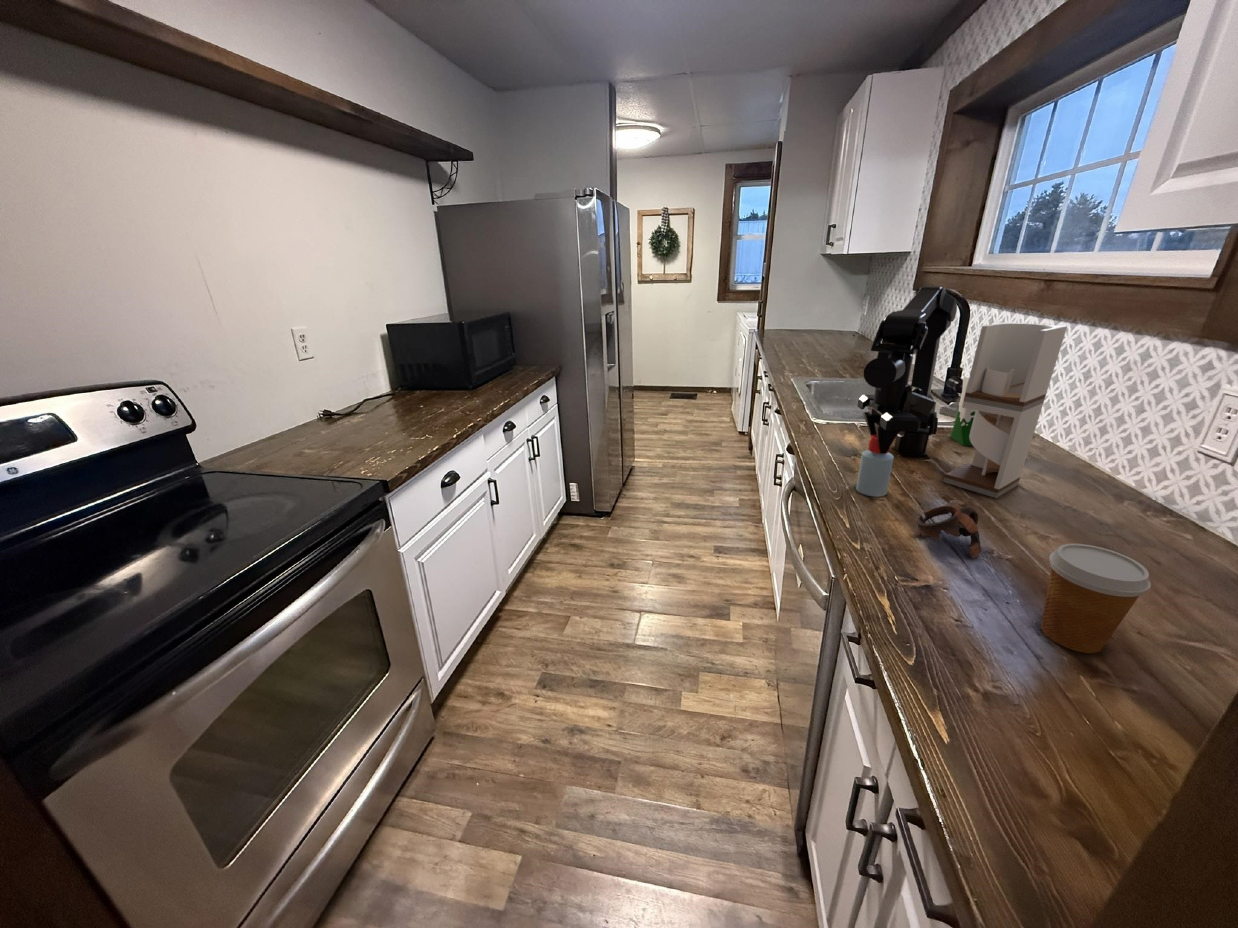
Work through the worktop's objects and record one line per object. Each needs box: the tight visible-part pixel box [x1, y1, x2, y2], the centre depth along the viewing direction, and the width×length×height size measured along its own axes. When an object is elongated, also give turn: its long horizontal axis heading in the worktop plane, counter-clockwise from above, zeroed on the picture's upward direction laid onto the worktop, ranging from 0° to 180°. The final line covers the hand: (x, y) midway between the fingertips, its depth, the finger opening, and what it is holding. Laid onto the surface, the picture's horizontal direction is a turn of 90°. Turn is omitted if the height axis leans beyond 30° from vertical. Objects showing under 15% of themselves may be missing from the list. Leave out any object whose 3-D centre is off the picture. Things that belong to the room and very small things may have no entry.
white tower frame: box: [942, 321, 1068, 499], centre depth 106 cm, size 11×11×35 cm
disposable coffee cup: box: [1040, 543, 1152, 654], centre depth 64 cm, size 10×10×12 cm
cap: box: [867, 434, 891, 454], centre depth 106 cm, size 4×4×3 cm
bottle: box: [855, 449, 895, 498], centre depth 108 cm, size 6×6×12 cm
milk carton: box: [949, 375, 976, 447], centre depth 135 cm, size 9×9×20 cm
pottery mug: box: [915, 504, 982, 560], centre depth 89 cm, size 12×10×8 cm
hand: (879, 450), depth 107 cm, fingers closed on cap, 4 cm apart
